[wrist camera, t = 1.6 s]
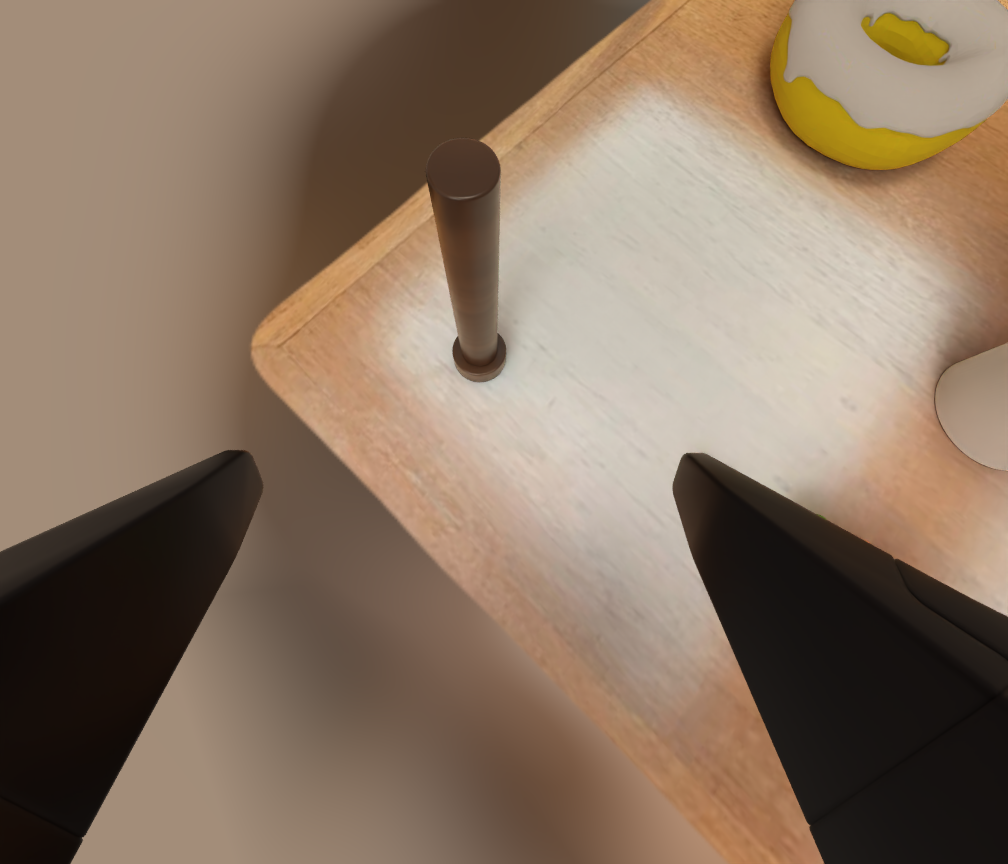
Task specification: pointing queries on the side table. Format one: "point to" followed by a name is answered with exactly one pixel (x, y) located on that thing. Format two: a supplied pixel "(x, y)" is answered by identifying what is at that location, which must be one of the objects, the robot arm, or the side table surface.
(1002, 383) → the coffee cup
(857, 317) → the side table surface
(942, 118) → the donut
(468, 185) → the stirring stick
